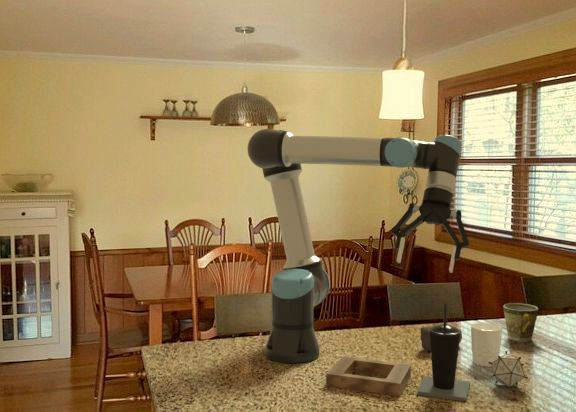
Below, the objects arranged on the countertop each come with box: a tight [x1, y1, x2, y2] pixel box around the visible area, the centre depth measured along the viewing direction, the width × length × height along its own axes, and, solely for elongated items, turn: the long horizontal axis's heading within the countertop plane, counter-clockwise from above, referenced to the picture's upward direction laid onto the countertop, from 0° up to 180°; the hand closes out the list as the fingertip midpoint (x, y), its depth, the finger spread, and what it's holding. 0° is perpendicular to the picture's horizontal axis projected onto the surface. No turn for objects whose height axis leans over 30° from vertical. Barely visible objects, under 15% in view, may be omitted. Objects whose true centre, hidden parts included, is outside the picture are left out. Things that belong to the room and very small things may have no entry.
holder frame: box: [325, 356, 412, 397], centre depth 149 cm, size 18×14×3 cm
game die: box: [488, 350, 529, 391], centre depth 146 cm, size 9×8×10 cm
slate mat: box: [416, 375, 471, 402], centre depth 144 cm, size 11×11×1 cm
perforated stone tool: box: [420, 326, 463, 352], centre depth 175 cm, size 15×5×7 cm, turn 112°
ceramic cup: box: [502, 302, 539, 343], centre depth 184 cm, size 13×10×10 cm
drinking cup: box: [428, 302, 463, 390], centre depth 143 cm, size 8×8×20 cm
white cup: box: [470, 322, 503, 368], centre depth 163 cm, size 8×8×10 cm
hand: (424, 266), depth 158 cm, fingers open, 13 cm apart
